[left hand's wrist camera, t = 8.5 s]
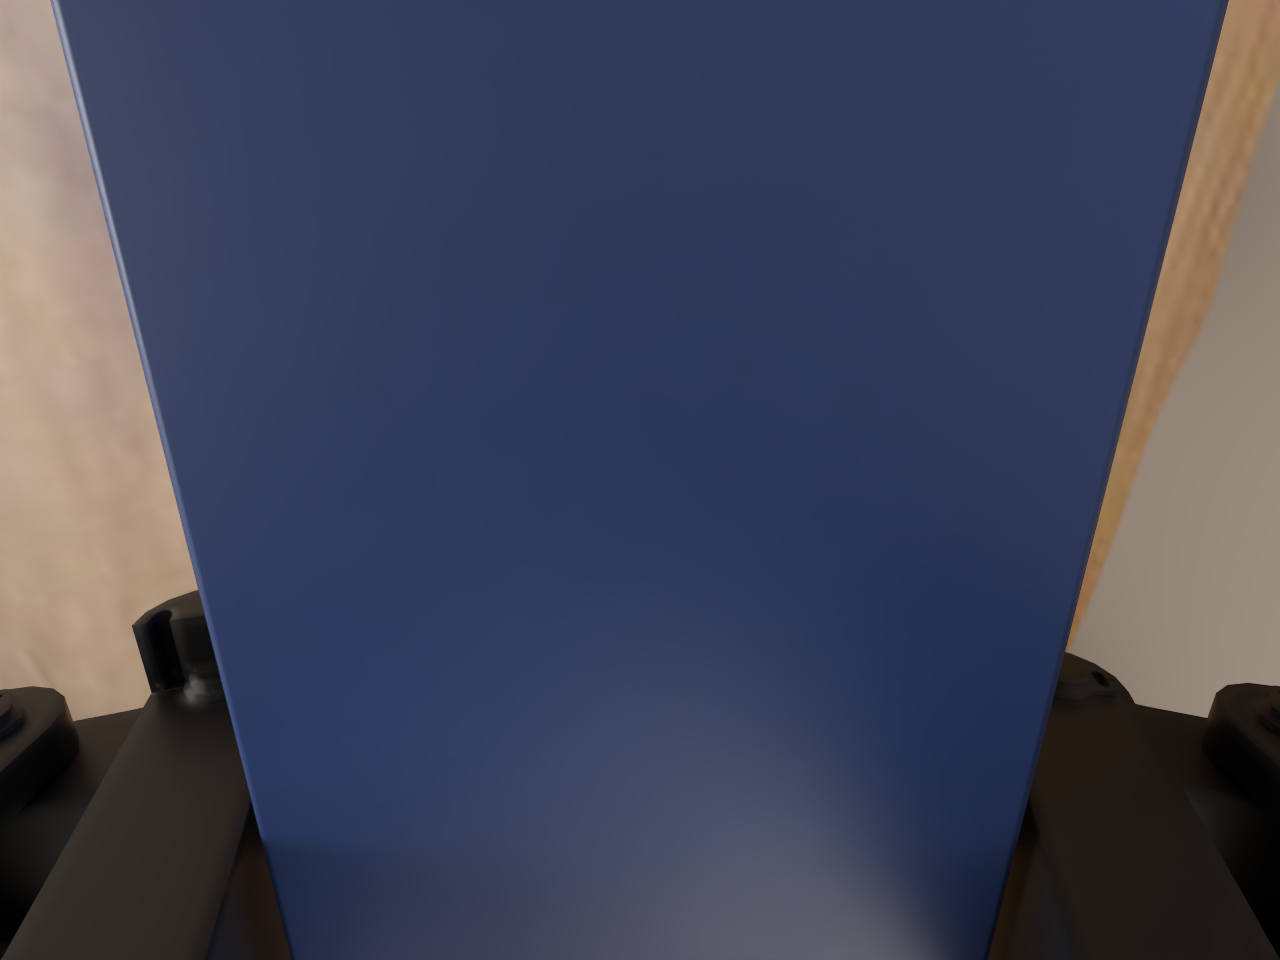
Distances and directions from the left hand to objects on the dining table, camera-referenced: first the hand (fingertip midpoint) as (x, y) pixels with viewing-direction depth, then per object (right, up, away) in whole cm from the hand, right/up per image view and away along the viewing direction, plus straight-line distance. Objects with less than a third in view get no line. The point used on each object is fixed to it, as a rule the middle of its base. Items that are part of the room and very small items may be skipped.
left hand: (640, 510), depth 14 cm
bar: (0, +14, -5) cm, 14 cm away
